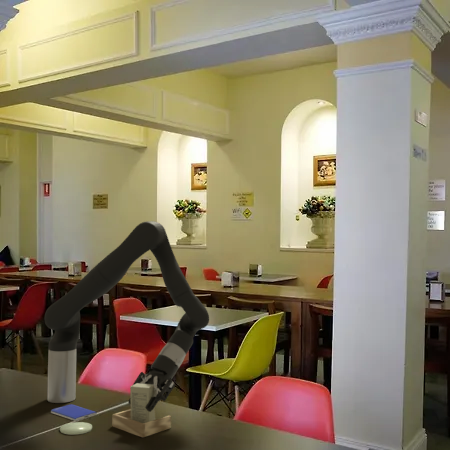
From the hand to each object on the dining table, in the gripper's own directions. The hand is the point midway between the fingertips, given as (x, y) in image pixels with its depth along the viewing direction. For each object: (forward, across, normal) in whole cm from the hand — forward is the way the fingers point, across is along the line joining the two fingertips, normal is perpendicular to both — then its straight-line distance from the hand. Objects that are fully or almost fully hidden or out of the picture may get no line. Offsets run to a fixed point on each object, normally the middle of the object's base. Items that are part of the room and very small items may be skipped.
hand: (139, 407), depth 164 cm
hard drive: (+8, -25, +1) cm, 27 cm away
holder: (+3, 0, +5) cm, 6 cm away
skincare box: (+3, 0, +6) cm, 6 cm away
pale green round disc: (+14, -12, -5) cm, 19 cm away
